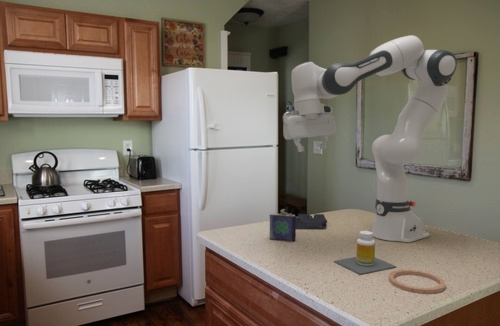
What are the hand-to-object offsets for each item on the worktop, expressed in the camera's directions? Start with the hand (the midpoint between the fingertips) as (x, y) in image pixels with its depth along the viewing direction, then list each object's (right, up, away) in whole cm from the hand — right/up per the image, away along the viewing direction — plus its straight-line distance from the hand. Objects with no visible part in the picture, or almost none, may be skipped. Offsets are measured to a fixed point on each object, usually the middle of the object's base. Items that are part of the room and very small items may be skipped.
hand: (312, 150), depth 139 cm
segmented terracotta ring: (+24, -37, -28) cm, 53 cm away
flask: (-9, -33, +12) cm, 37 cm away
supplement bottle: (+14, -36, -15) cm, 41 cm away
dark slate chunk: (0, -32, +34) cm, 46 cm away
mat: (+14, -36, -15) cm, 41 cm away
